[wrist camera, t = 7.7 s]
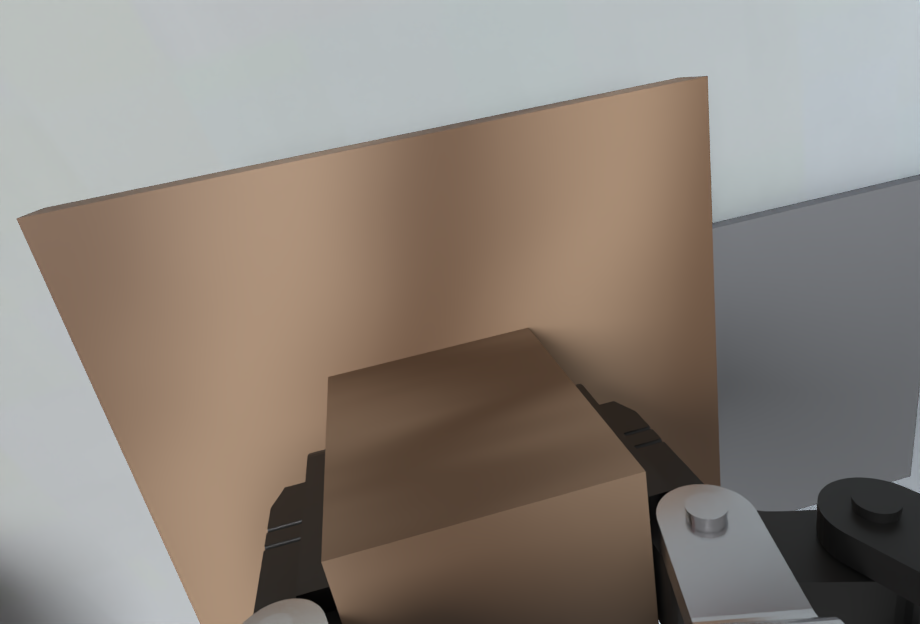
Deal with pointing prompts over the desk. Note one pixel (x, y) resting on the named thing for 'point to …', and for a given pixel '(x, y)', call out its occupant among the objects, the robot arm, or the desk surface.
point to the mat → (818, 343)
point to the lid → (413, 355)
